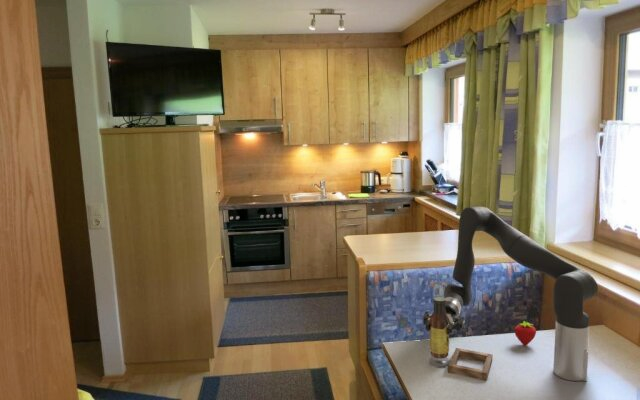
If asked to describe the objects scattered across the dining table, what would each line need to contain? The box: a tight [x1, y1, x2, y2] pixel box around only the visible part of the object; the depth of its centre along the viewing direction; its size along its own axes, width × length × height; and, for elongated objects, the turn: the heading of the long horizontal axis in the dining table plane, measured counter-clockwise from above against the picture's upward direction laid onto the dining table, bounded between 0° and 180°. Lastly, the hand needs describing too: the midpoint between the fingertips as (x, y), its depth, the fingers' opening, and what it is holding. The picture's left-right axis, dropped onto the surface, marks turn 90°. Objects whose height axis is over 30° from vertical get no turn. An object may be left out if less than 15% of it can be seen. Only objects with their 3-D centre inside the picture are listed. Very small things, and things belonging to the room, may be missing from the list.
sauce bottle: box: [429, 296, 450, 358], centre depth 156 cm, size 6×6×20 cm
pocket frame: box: [447, 347, 493, 381], centre depth 154 cm, size 12×13×2 cm
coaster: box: [428, 355, 451, 369], centre depth 158 cm, size 7×7×1 cm
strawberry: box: [514, 318, 537, 346], centre depth 167 cm, size 6×8×10 cm
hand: (438, 329), depth 154 cm, fingers closed on sauce bottle, 6 cm apart
